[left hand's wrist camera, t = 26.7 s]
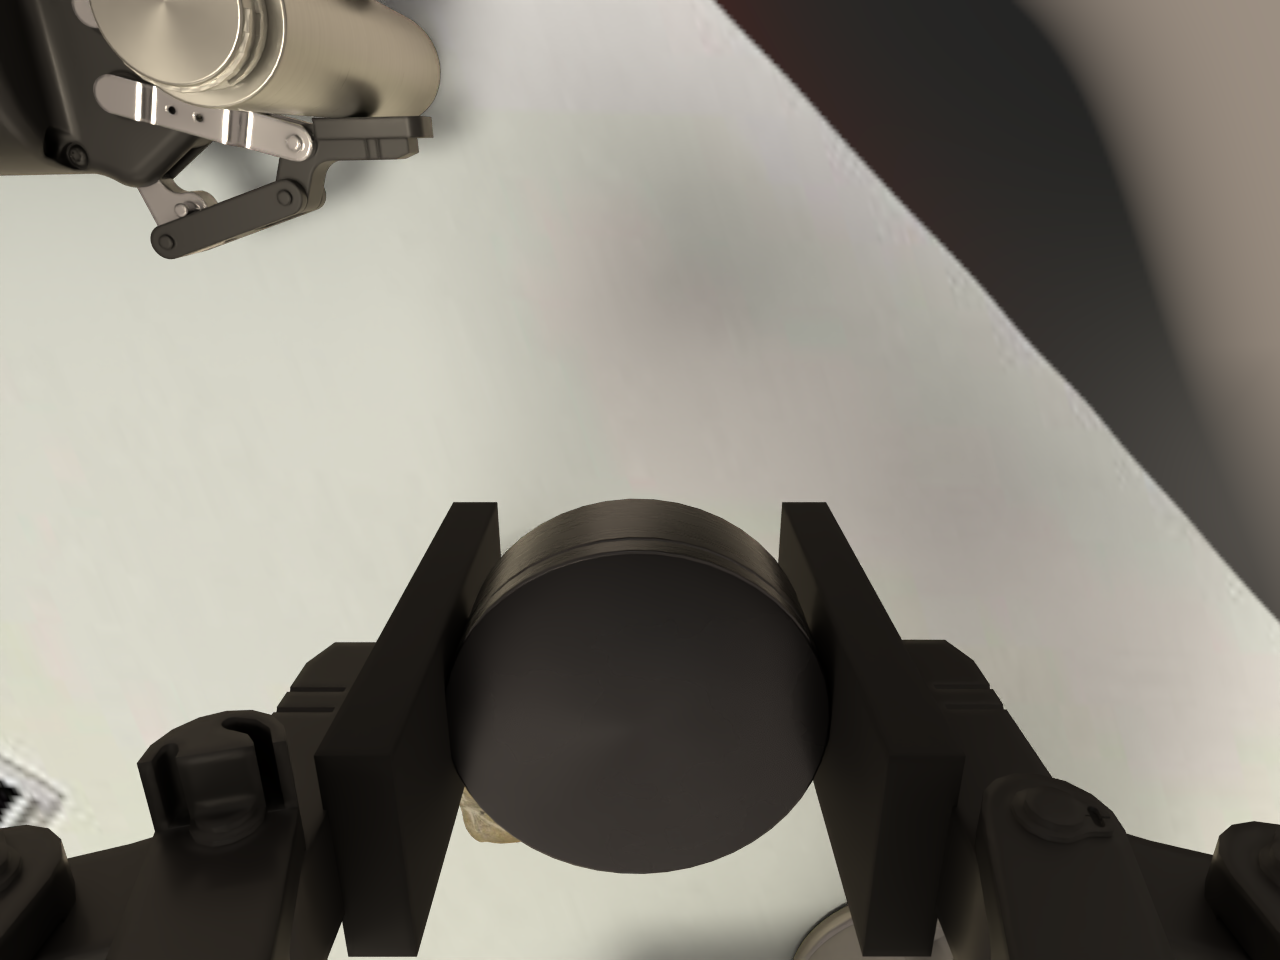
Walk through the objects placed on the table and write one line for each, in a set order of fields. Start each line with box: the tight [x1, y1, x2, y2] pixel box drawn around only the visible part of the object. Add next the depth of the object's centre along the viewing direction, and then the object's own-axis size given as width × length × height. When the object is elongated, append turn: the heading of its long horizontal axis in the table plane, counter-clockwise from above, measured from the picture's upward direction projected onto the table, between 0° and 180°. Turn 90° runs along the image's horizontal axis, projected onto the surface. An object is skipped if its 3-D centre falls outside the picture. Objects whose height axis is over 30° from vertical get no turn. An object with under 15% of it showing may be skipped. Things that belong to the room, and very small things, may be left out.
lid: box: [445, 499, 831, 874], centre depth 11 cm, size 5×5×2 cm
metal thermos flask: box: [89, 0, 440, 118], centre depth 26 cm, size 4×4×18 cm
